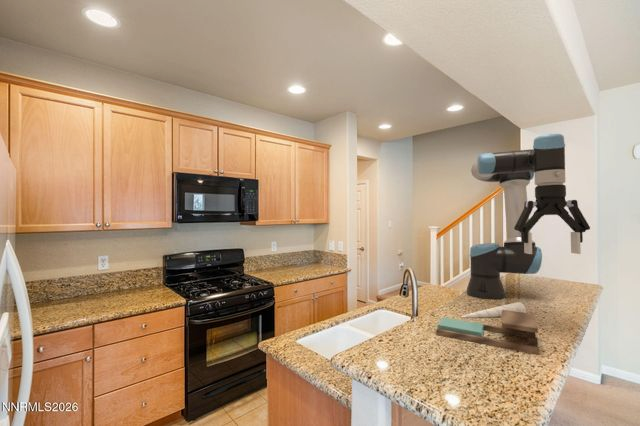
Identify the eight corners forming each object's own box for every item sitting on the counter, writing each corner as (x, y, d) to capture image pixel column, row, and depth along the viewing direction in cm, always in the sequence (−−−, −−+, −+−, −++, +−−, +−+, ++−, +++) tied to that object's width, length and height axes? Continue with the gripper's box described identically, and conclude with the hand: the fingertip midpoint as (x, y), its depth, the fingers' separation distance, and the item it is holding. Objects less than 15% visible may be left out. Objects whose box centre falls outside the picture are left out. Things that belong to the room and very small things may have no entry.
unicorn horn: (455, 315, 106) (454, 301, 106) (517, 313, 107) (517, 300, 107) (461, 319, 101) (461, 305, 101) (527, 317, 102) (527, 304, 102)
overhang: (436, 334, 88) (436, 312, 88) (444, 320, 99) (443, 301, 100) (538, 354, 74) (537, 328, 75) (534, 336, 86) (533, 313, 86)
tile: (437, 333, 90) (437, 324, 90) (442, 325, 97) (442, 317, 97) (481, 342, 83) (481, 332, 83) (483, 333, 90) (483, 324, 90)
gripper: (513, 184, 87) (515, 255, 87) (604, 182, 84) (607, 254, 84) (500, 187, 94) (502, 252, 94) (584, 185, 92) (586, 251, 91)
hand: (551, 253), depth 89 cm, fingers open, 13 cm apart
